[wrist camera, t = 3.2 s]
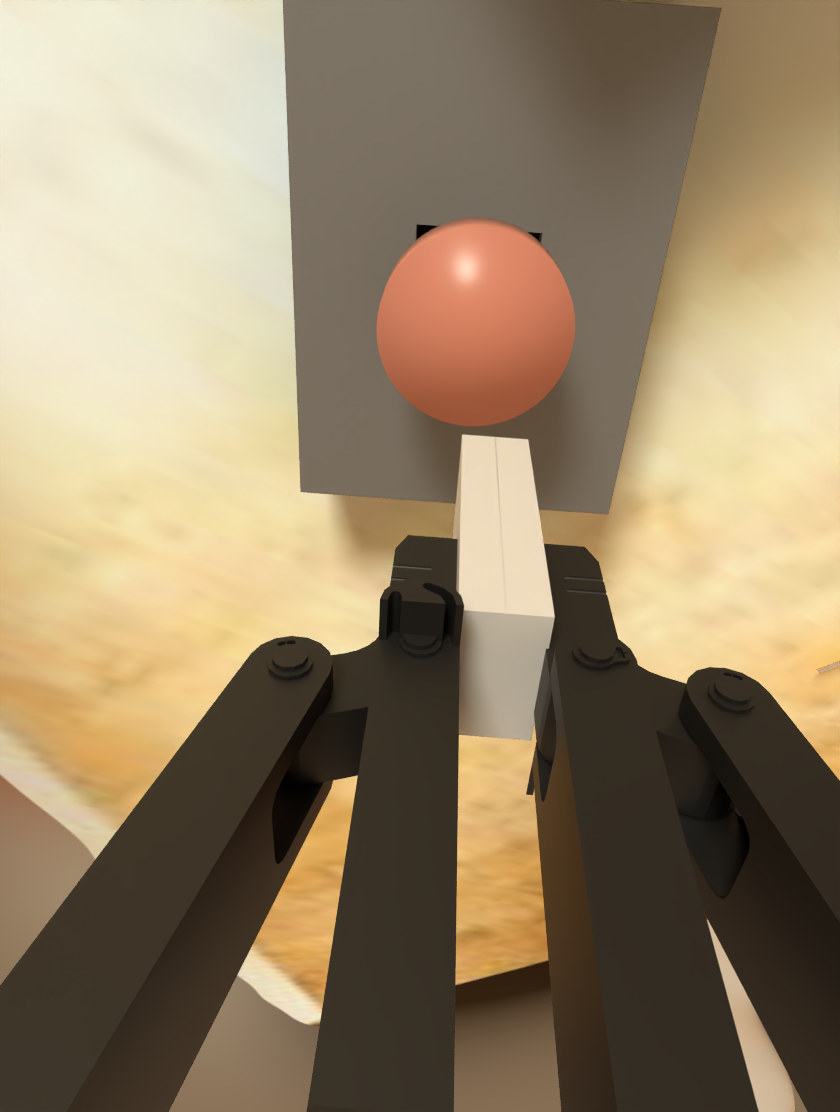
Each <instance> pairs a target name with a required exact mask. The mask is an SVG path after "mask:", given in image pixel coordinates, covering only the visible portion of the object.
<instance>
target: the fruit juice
mask: <svg viewBox="0 0 840 1112" xmlns="http://www.w3.org/2000/svg"><path fill="white" fill-rule="evenodd" d="M706 918H707V917H706ZM707 922H708V926H709V929H710V933H711V937H712V941H713V944H714V948H715V952H716V955H717V959H718V963H719V966H720V970H721V974H722V977H723V981H724V985H725V988H726V992H727V996H728V1000H729V1003H730V1007H731V1011H732V1014H733V1018H734V1022H735V1025H736V1029H737V1033H738V1036H739V1040H740V1044H741V1048H742V1051H743V1055H744V1059H745V1062H746V1066H747V1070H748V1073H749V1077H750V1081H751V1084H752V1088H753V1092H754V1096H755V1099H756V1103H757V1107H758V1110H759V1112H795V1104H794V1095H793V1090H792V1086H791V1082H790V1078H789V1075H788V1073H787V1071H786V1069H785V1067H784V1065H783V1063H782V1061H781V1059H780V1057H779V1055H778V1054H777V1052H776V1050H775V1048H774V1046H773V1044H772V1042H771V1040H770V1038H769V1036H768V1034H767V1032H766V1030H765V1029H764V1027H763V1025H762V1023H761V1021H760V1019H759V1017H758V1015H757V1013H756V1011H755V1009H754V1007H753V1006H752V1004H751V1002H750V1000H749V998H748V996H747V994H746V992H745V990H744V988H743V986H742V984H741V982H740V981H739V979H738V977H737V975H736V973H735V971H734V969H733V967H732V965H731V963H730V961H729V959H728V957H727V956H726V954H725V952H724V950H723V948H722V946H721V944H720V942H719V940H718V938H717V936H716V934H715V932H714V931H713V929H712V927H711V925H710V923H709V921H708V919H707Z"/></svg>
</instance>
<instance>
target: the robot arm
mask: <svg viewBox="0 0 840 1112" xmlns="http://www.w3.org/2000/svg"><path fill="white" fill-rule="evenodd" d="M534 722H535V730H536V740H537V742H536V747H535V752H534V757H533V762H532V767H531V772H530V777H529V782H528V788H527V793H526V795H533V792H534V790H535V802H536V814H537V826H538V838H539V850H540V862H541V874H542V885H543V897H544V909H545V921H546V933H547V945H548V957H549V969H550V980H551V993H552V1005H553V1016H554V1028H555V1040H556V1051H557V1064H558V1076H559V1088H560V1100H561V1112H759V1110H758V1107H757V1103H756V1099H755V1096H754V1092H753V1088H752V1084H751V1081H750V1077H749V1073H748V1070H747V1066H746V1062H745V1059H744V1055H743V1051H742V1048H741V1044H740V1040H739V1036H738V1033H737V1029H736V1025H735V1022H734V1018H733V1014H732V1011H731V1007H730V1003H729V1000H728V996H727V992H726V988H725V985H724V981H723V977H722V974H721V970H720V966H719V963H718V959H717V955H716V952H715V948H714V944H713V941H712V937H711V933H710V929H709V926H708V922H707V919H708V921H709V923H710V925H711V927H712V929H713V931H714V932H715V934H716V936H717V938H718V940H719V942H720V944H721V946H722V948H723V950H724V952H725V954H726V956H727V957H728V959H729V961H730V963H731V965H732V967H733V969H734V971H735V973H736V975H737V977H738V979H739V981H740V982H741V984H742V986H743V988H744V990H745V992H746V994H747V996H748V998H749V1000H750V1002H751V1004H752V1006H753V1007H754V1009H755V1011H756V1013H757V1015H758V1017H759V1019H760V1021H761V1023H762V1025H763V1027H764V1029H765V1030H766V1032H767V1034H768V1036H769V1038H770V1040H771V1042H772V1044H773V1046H774V1048H775V1050H776V1052H777V1054H778V1055H779V1057H780V1059H781V1061H782V1063H783V1065H784V1067H785V1069H786V1071H787V1073H788V1075H789V1077H790V1079H791V1080H792V1082H793V1084H794V1086H795V1088H796V1090H797V1092H798V1094H799V1096H800V1098H801V1099H802V1102H803V1103H804V1105H805V1107H806V1109H807V1111H808V1112H840V781H839V779H838V778H837V777H836V776H835V774H834V773H833V772H832V771H831V769H830V768H829V767H828V766H827V764H826V763H825V762H824V761H823V759H822V758H821V757H820V756H819V754H818V753H817V752H816V750H815V749H814V748H813V747H812V745H811V744H810V743H809V742H808V740H807V739H806V738H805V737H804V735H803V734H802V733H801V732H800V730H799V729H798V728H797V727H796V725H795V724H794V723H793V722H792V720H791V719H790V718H789V717H788V715H787V714H786V713H785V712H784V710H783V709H782V708H781V707H780V705H779V704H778V703H777V702H776V700H775V699H774V698H773V696H772V695H771V694H770V693H769V692H768V691H767V690H766V689H765V688H764V687H763V686H762V685H761V684H760V683H759V682H757V681H756V680H754V679H752V678H750V677H748V676H746V675H745V674H743V673H740V672H737V671H733V670H730V669H726V668H712V667H709V668H705V669H701V670H698V671H696V672H695V673H693V674H692V675H691V676H690V677H689V678H688V681H687V684H685V683H682V682H679V681H675V680H672V679H669V678H665V677H662V676H659V675H657V674H654V673H651V672H649V671H647V670H645V669H644V668H642V667H640V666H638V664H637V660H636V658H635V656H634V654H633V653H632V651H631V649H630V648H629V647H627V646H626V645H625V644H624V643H623V642H621V641H620V640H619V639H618V636H617V633H616V629H615V625H614V621H613V617H612V613H611V609H610V605H609V601H608V597H607V595H606V589H605V585H604V582H603V577H602V573H601V569H600V565H599V562H598V561H597V560H596V559H595V558H594V557H593V556H592V554H591V553H590V552H589V551H588V550H587V549H586V548H585V547H579V546H565V545H552V544H544V542H543V535H542V529H541V522H540V515H539V509H538V502H537V495H536V489H535V482H534V476H533V469H532V462H531V456H530V449H529V442H528V439H516V438H503V437H489V436H476V435H462V442H461V453H460V463H459V474H458V485H457V496H456V506H455V517H454V528H453V539H451V538H438V537H425V536H412V535H408V536H407V537H406V538H405V539H404V540H403V541H402V542H401V543H400V544H399V545H398V547H397V548H396V550H395V556H394V563H393V570H392V576H391V583H390V586H389V587H388V588H387V589H385V590H384V592H383V594H382V596H381V598H380V617H379V637H378V638H377V639H376V640H375V641H374V642H372V643H371V644H370V645H368V646H366V647H364V648H362V649H359V650H357V651H353V652H349V653H344V654H338V655H330V652H329V651H328V650H327V649H326V648H325V647H324V646H323V645H322V644H321V643H319V642H316V641H314V640H311V639H309V638H305V637H295V636H289V637H282V638H276V639H273V640H271V641H269V642H266V643H264V644H262V645H260V646H259V647H258V648H257V649H256V650H255V651H254V652H252V653H251V655H250V656H249V657H248V659H247V660H246V661H245V662H244V664H243V665H242V666H241V668H240V669H239V670H238V672H237V673H236V674H235V676H234V677H233V678H232V680H231V681H230V682H229V684H228V685H227V686H226V688H225V689H224V690H223V692H222V693H221V694H220V696H219V697H218V698H217V700H216V701H215V702H214V704H213V705H212V706H211V707H210V709H209V710H208V711H207V713H206V714H205V715H204V717H203V718H202V719H201V721H200V722H199V723H198V725H197V726H196V727H195V729H194V730H193V731H192V733H191V734H190V735H189V737H188V738H187V739H186V741H185V742H184V743H183V745H182V746H181V747H180V748H179V750H178V751H177V752H176V754H175V755H174V756H173V758H172V759H171V760H170V762H169V763H168V764H167V766H166V767H165V768H164V770H163V771H162V772H161V774H160V775H159V776H158V778H157V779H156V780H155V782H154V783H153V784H152V786H151V787H150V788H149V790H148V791H147V792H146V793H145V795H144V796H143V797H142V799H141V800H140V801H139V803H138V804H137V805H136V807H135V808H134V809H133V811H132V812H131V813H130V815H129V816H128V817H127V819H126V820H125V821H124V823H123V824H122V825H121V827H120V828H119V829H118V831H117V832H116V833H115V834H114V836H113V837H112V838H111V840H110V841H109V842H108V844H107V845H106V846H105V848H104V849H103V850H102V852H101V853H100V854H99V856H98V857H97V858H96V860H95V861H94V862H93V864H92V865H91V866H90V868H89V869H88V870H87V872H86V873H85V874H84V876H83V877H82V878H81V879H80V881H79V882H78V883H77V885H76V886H75V888H74V889H73V890H72V892H71V893H70V894H69V896H68V897H67V898H66V899H65V901H64V902H63V903H62V905H61V906H60V907H59V909H58V910H57V911H56V913H55V914H54V915H53V917H52V918H51V919H50V920H49V922H48V923H47V924H46V926H45V927H44V929H43V930H42V931H41V932H40V934H39V935H38V937H37V938H36V939H35V940H34V942H33V943H32V944H31V946H30V947H29V948H28V950H27V951H26V952H25V954H24V955H23V956H22V958H21V959H20V960H19V962H18V963H17V964H16V966H15V967H14V968H13V970H12V971H11V972H10V974H9V975H8V976H7V977H6V979H5V980H4V982H3V983H2V984H1V985H0V1112H169V1110H170V1107H171V1106H172V1104H173V1102H174V1099H175V1098H176V1096H177V1094H178V1092H179V1090H180V1088H181V1086H182V1084H183V1082H184V1080H185V1078H186V1076H187V1074H188V1072H189V1070H190V1068H191V1066H192V1064H193V1062H194V1060H195V1058H196V1056H197V1054H198V1052H199V1050H200V1048H201V1046H202V1044H203V1042H204V1040H205V1038H206V1036H207V1034H208V1032H209V1030H210V1028H211V1026H212V1024H213V1022H214V1020H215V1018H216V1016H217V1014H218V1012H219V1010H220V1008H221V1006H222V1004H223V1002H224V1000H225V998H226V996H227V994H228V992H229V990H230V988H231V986H232V984H233V982H234V980H235V978H236V976H237V974H238V972H239V970H240V968H241V966H242V964H243V962H244V960H245V958H246V957H247V955H248V953H249V951H250V949H251V947H252V945H253V943H254V941H255V939H256V937H257V935H258V933H259V931H260V929H261V927H262V925H263V923H264V921H265V919H266V917H267V915H268V913H269V911H270V909H271V907H272V905H273V903H274V901H275V899H276V897H277V895H278V893H279V891H280V889H281V887H282V885H283V883H284V881H285V879H286V877H287V875H288V873H289V871H290V869H291V867H292V865H293V863H294V861H295V859H296V857H297V855H298V853H299V851H300V849H301V847H302V845H303V843H304V841H305V839H306V837H307V835H308V833H309V831H310V829H311V827H312V825H313V823H314V821H315V819H316V817H317V815H318V813H319V811H320V809H321V807H322V805H323V803H324V801H325V799H326V797H327V795H328V793H329V791H330V789H331V787H332V782H333V780H337V779H342V778H347V777H352V776H357V775H358V779H357V786H356V792H355V799H354V805H353V812H352V818H351V825H350V831H349V838H348V845H347V851H346V858H345V864H344V871H343V877H342V884H341V890H340V897H339V903H338V910H337V917H336V923H335V930H334V936H333V943H332V949H331V956H330V962H329V969H328V976H327V982H326V989H325V995H324V1002H323V1008H322V1015H321V1021H320V1028H319V1035H318V1041H317V1048H316V1054H315V1061H314V1068H313V1074H312V1081H311V1087H310V1094H309V1100H308V1107H307V1112H454V1111H453V1110H454V1038H455V967H456V893H457V819H458V745H459V735H469V736H481V737H494V738H506V739H519V740H531V738H532V733H533V727H534ZM706 917H707V918H706Z"/></svg>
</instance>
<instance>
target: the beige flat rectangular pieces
mask: <svg viewBox="0 0 840 1112" xmlns="http://www.w3.org/2000/svg"><path fill="white" fill-rule="evenodd" d="M838 666H840V661H838V662H835V663H833V664H830V665H827V666H825V667H822V668H819V669H817V671H818V672H819V673H822V672H825V671H827V670H830V669H833V668H835V667H838Z"/></svg>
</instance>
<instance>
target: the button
mask: <svg viewBox="0 0 840 1112" xmlns="http://www.w3.org/2000/svg"><path fill="white" fill-rule="evenodd" d="M376 329H377V344H378V349H379V354H380V357H381V360H382V364H383V366H384V368H385V371H386V373H387V375H388V377H389V378H390V380H391V382H392V383H393V385H394V386H395V388H396V389H397V390H398V391H399V392H400V394H401V395H402V396H403V397H404V398H405V399H406V400H407V401H408V402H409V403H410V404H412V405H413V406H414V407H416V408H417V409H419V410H420V411H421V412H423V413H425V414H427V415H429V416H431V417H433V418H435V419H438V420H440V421H443V422H447V423H451V424H455V425H462V426H485V425H492V424H496V423H500V422H504V421H507V420H509V419H512V418H515V417H516V416H518V415H520V414H522V413H524V412H526V411H527V410H529V409H530V408H532V407H533V406H535V405H536V404H537V403H538V402H540V401H541V400H542V399H543V398H544V397H545V396H546V395H547V394H548V393H549V392H550V391H551V390H552V388H553V387H554V386H555V384H556V383H557V382H558V380H559V379H560V377H561V375H562V373H563V372H564V370H565V368H566V366H567V363H568V361H569V358H570V355H571V352H572V347H573V343H574V336H575V313H574V307H573V302H572V299H571V295H570V292H569V289H568V287H567V285H566V282H565V280H564V278H563V275H562V273H561V271H560V269H559V267H558V265H557V263H556V261H555V260H554V258H553V257H552V255H551V254H550V253H549V251H548V250H547V249H546V248H545V247H544V246H543V245H542V244H541V243H540V242H539V241H538V240H537V239H536V238H535V237H533V236H532V235H531V234H529V233H528V232H526V231H524V230H523V229H521V228H519V227H517V226H515V225H512V224H510V223H507V222H504V221H500V220H497V219H490V218H465V219H458V220H455V221H451V222H448V223H445V224H442V225H440V226H438V227H436V228H433V229H432V230H430V231H428V232H427V233H425V234H424V235H422V236H421V237H420V238H418V239H417V240H416V241H415V242H414V243H412V244H411V245H410V246H409V248H408V249H407V250H406V251H405V252H404V253H403V254H402V256H401V257H400V258H399V260H398V261H397V263H396V264H395V266H394V268H393V270H392V272H391V274H390V276H389V279H388V281H387V284H386V287H385V290H384V293H383V296H382V299H381V302H380V306H379V311H378V316H377V327H376Z"/></svg>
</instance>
